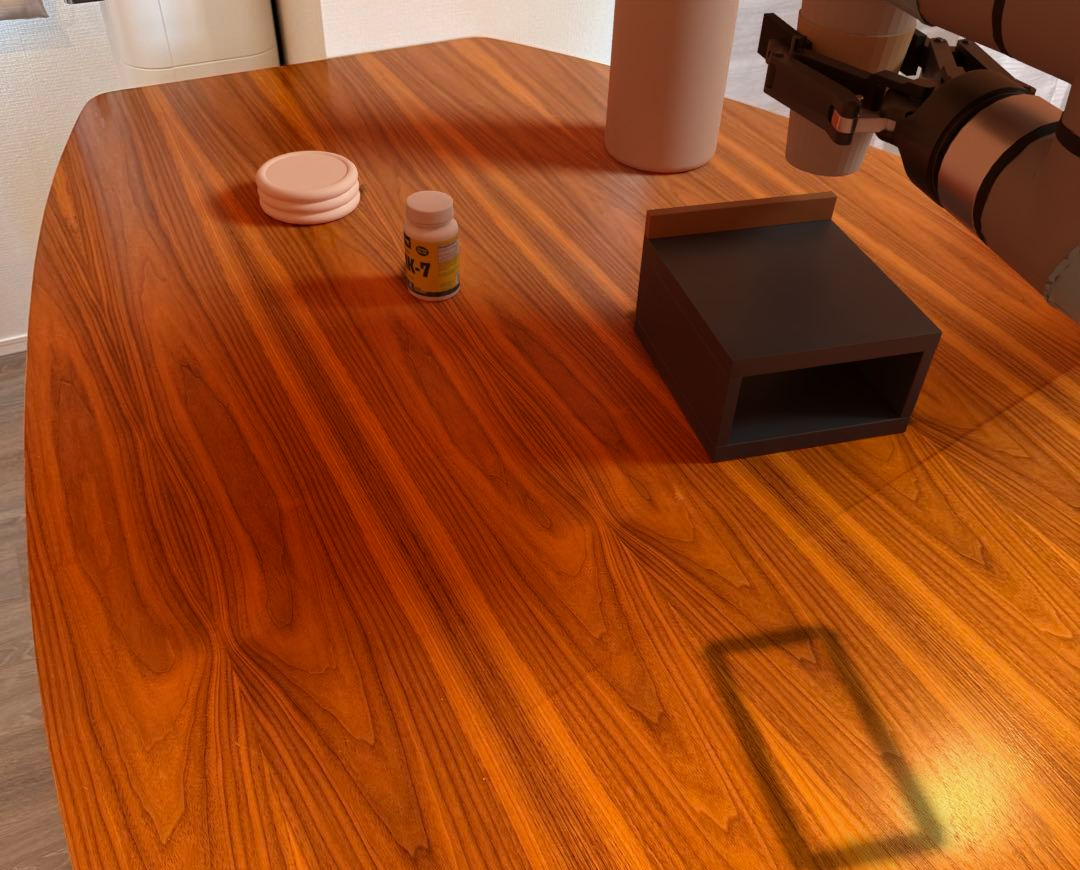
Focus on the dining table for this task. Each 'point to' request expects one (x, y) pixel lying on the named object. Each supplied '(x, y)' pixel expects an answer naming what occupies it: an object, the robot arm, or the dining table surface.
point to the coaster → (308, 187)
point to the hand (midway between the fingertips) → (819, 29)
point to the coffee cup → (858, 40)
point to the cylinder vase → (668, 81)
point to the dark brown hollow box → (777, 327)
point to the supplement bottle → (431, 246)
